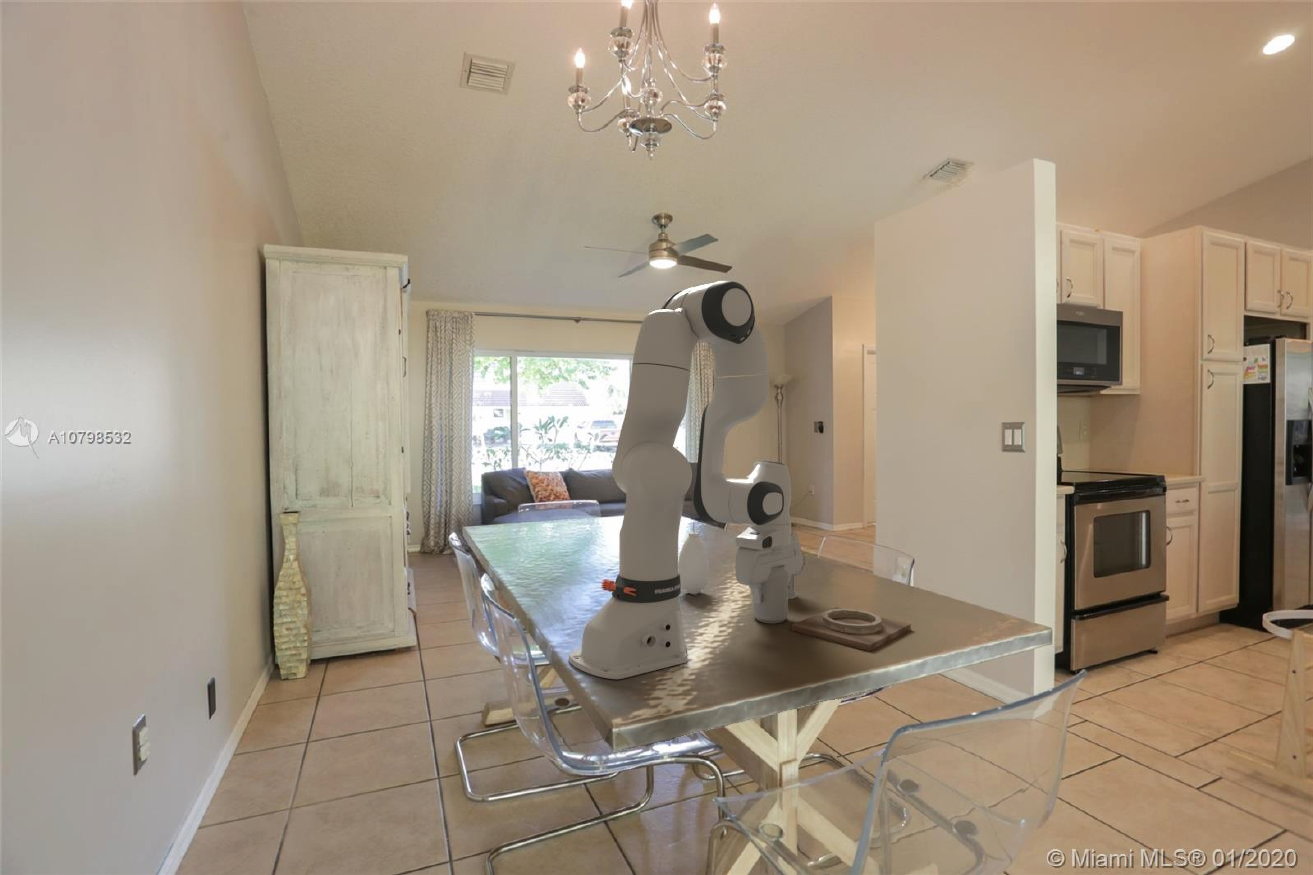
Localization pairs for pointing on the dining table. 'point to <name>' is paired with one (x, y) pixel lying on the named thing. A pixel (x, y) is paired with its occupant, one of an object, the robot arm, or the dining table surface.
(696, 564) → the sauce bottle
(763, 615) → the can
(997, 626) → the dining table surface
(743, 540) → the robot arm
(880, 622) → the seat board
